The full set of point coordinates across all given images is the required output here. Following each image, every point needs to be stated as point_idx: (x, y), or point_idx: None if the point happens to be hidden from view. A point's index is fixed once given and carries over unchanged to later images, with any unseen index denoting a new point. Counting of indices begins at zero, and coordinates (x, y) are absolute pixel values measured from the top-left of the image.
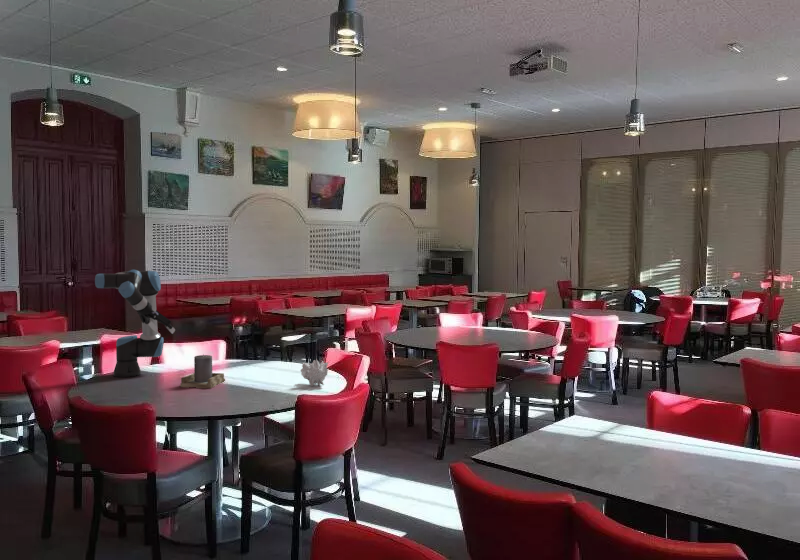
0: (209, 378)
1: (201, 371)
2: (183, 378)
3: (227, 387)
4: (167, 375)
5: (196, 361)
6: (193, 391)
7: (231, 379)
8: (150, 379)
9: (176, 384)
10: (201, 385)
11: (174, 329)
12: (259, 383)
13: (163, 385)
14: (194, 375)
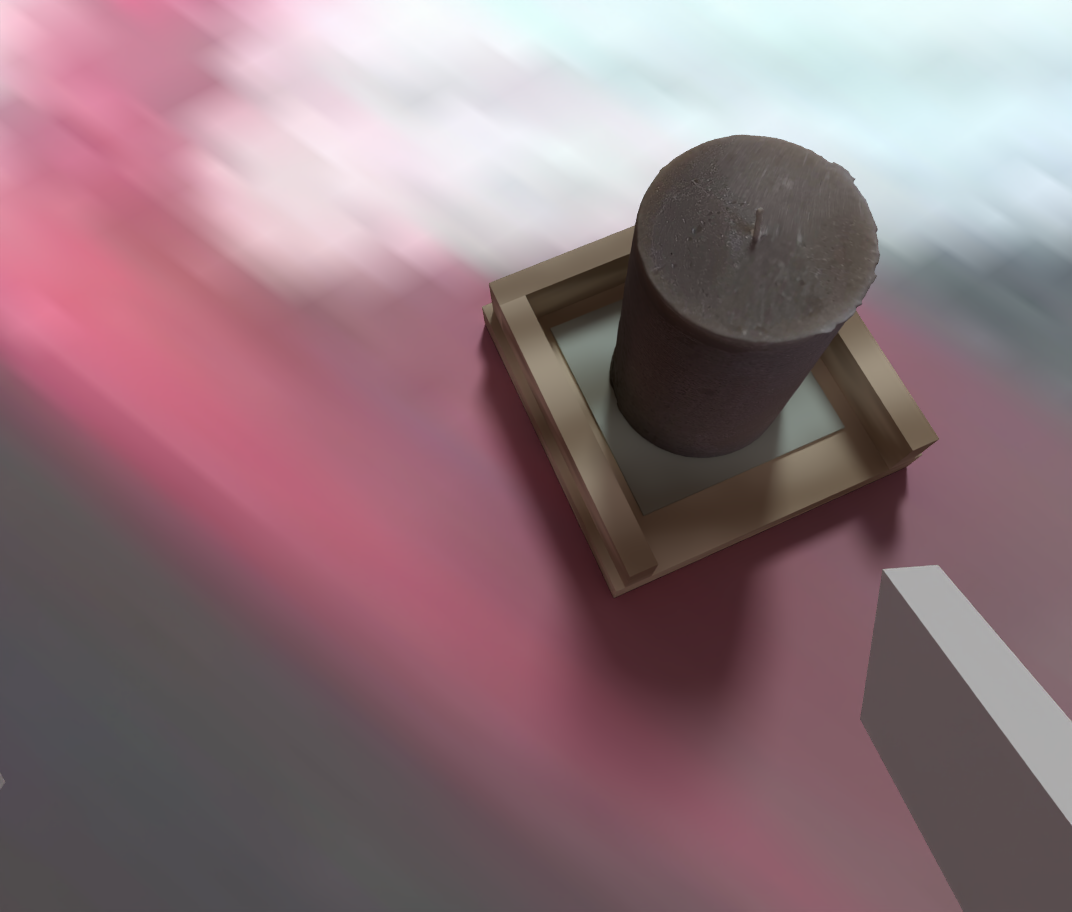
0: (889, 413)
1: (788, 396)
2: (654, 565)
3: (976, 351)
4: (56, 315)
5: (754, 366)
6: None
7: (699, 124)
8: (46, 527)
9: (470, 535)
10: (825, 499)
11: (963, 616)
12: (1029, 103)
13: (399, 644)
14: (659, 423)
